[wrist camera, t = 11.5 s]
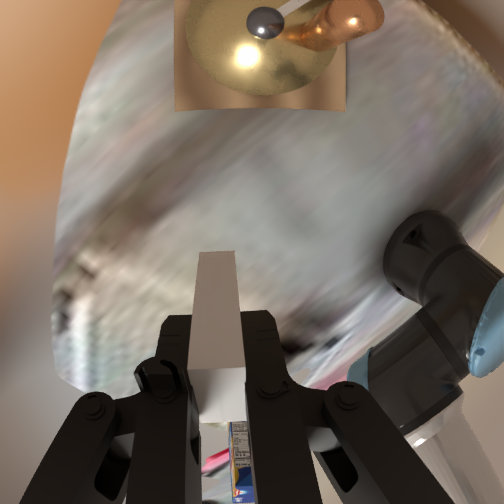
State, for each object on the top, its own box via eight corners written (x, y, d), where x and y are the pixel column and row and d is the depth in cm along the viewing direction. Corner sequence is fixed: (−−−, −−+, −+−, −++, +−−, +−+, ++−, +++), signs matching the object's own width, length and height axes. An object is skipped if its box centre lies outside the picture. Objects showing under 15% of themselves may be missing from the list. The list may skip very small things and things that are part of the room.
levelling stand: (336, -25, 26) (350, -37, 22) (339, 111, 35) (355, 113, 31) (178, -31, 24) (173, -46, 20) (177, 111, 34) (171, 112, 29)
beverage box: (264, 382, 56) (280, 483, 37) (258, 412, 61) (270, 501, 42) (228, 382, 56) (235, 486, 36) (227, 412, 60) (232, 503, 41)
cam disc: (217, -46, 22) (217, -105, 10) (351, 1, 26) (408, -33, 14) (166, 72, 29) (133, 55, 17) (307, 116, 33) (353, 125, 21)
